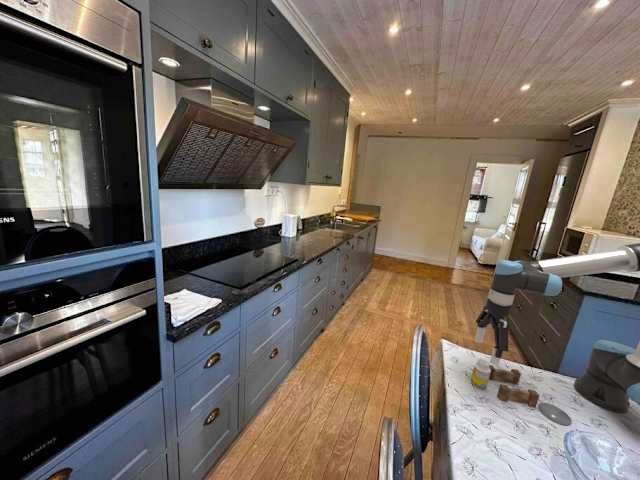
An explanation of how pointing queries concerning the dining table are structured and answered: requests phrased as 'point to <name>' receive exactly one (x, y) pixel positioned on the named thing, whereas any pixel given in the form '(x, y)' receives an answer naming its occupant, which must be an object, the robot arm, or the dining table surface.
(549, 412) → the slate coaster
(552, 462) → the dining table surface
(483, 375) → the supplement bottle
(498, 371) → the walnut channel
